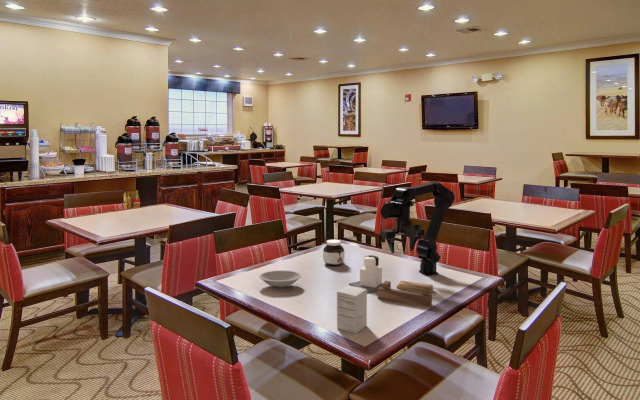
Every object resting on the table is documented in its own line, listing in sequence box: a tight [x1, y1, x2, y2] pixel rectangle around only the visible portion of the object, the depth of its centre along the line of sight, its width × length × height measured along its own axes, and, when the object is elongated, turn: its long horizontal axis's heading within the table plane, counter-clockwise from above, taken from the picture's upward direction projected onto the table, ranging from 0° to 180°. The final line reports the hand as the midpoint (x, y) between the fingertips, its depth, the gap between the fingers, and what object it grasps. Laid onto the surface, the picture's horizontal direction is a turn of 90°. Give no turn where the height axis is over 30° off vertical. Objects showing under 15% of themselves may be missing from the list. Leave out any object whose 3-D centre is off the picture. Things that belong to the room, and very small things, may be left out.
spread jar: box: [322, 239, 345, 267], centre depth 212 cm, size 12×11×12 cm
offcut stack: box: [396, 280, 434, 294], centre depth 175 cm, size 4×14×2 cm, turn 63°
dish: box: [258, 270, 302, 288], centre depth 178 cm, size 18×14×5 cm
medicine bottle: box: [359, 254, 383, 288], centre depth 178 cm, size 7×7×12 cm
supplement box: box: [336, 284, 368, 334], centre depth 139 cm, size 7×7×13 cm
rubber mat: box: [348, 280, 384, 294], centre depth 179 cm, size 12×12×1 cm
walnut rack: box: [377, 280, 433, 308], centre depth 162 cm, size 4×20×6 cm, turn 63°
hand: (402, 252), depth 186 cm, fingers open, 9 cm apart
